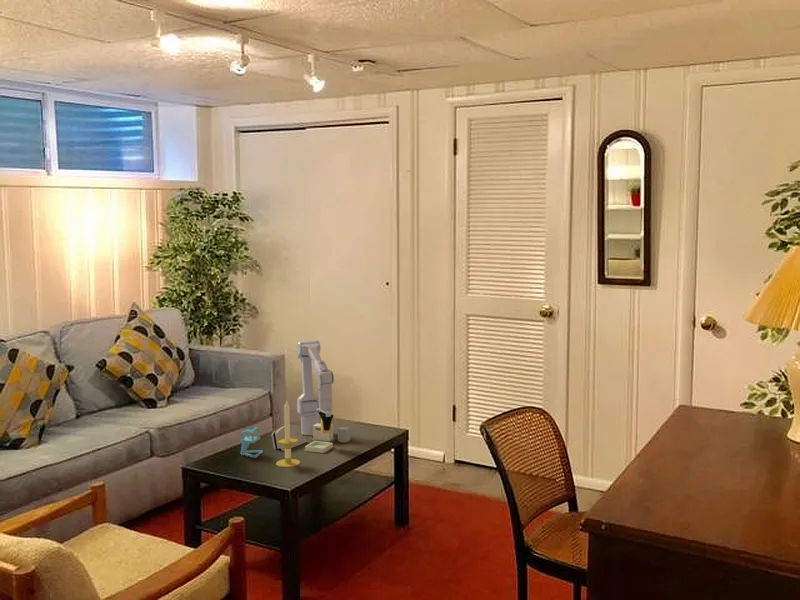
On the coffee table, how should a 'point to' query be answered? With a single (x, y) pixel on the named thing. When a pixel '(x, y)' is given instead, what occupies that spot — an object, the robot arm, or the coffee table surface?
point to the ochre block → (324, 430)
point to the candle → (287, 442)
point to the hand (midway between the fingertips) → (326, 428)
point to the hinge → (294, 433)
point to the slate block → (344, 434)
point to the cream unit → (319, 436)
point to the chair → (248, 440)
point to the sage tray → (318, 446)
